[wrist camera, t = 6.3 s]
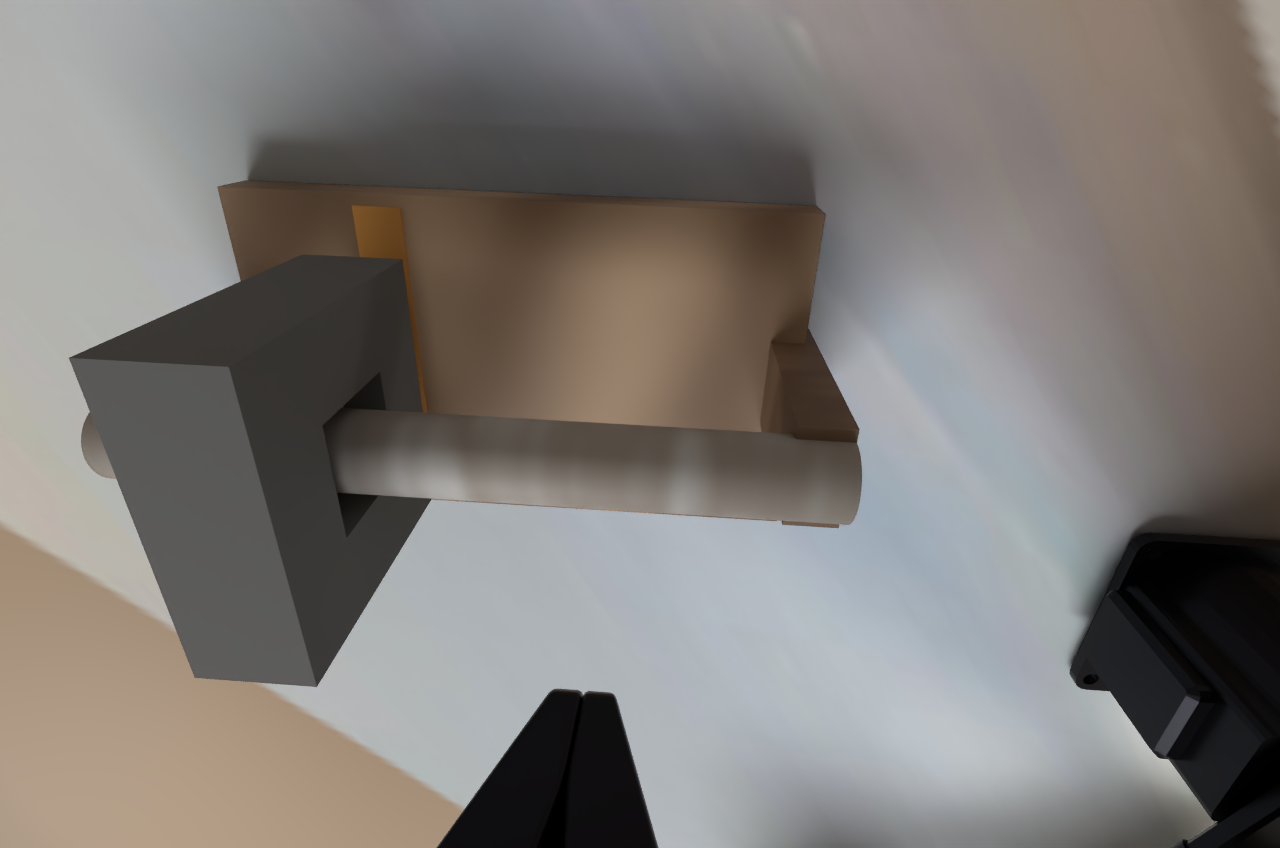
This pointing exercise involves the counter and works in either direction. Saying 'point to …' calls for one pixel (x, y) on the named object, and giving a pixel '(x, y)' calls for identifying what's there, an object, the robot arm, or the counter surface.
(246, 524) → the grey square collar
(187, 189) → the counter surface
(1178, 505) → the counter surface
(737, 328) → the pipe stand
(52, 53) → the counter surface
